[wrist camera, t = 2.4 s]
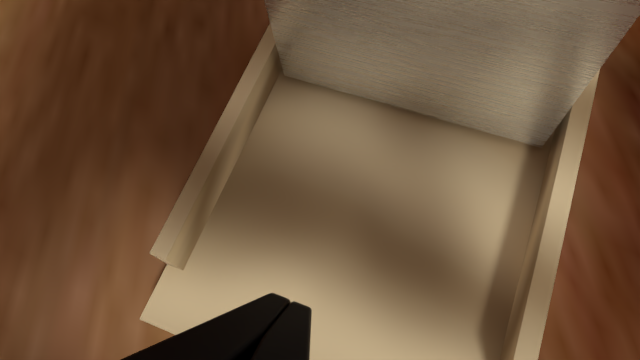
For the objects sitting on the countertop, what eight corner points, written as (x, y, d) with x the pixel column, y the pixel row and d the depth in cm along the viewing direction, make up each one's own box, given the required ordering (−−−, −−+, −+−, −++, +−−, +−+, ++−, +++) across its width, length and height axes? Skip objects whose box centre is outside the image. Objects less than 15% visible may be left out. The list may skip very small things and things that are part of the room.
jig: (487, 467, 15) (613, 556, 7) (153, 323, 17) (-9, 277, 10) (606, -46, 22) (730, -268, 15) (359, -93, 25) (355, -302, 17)
